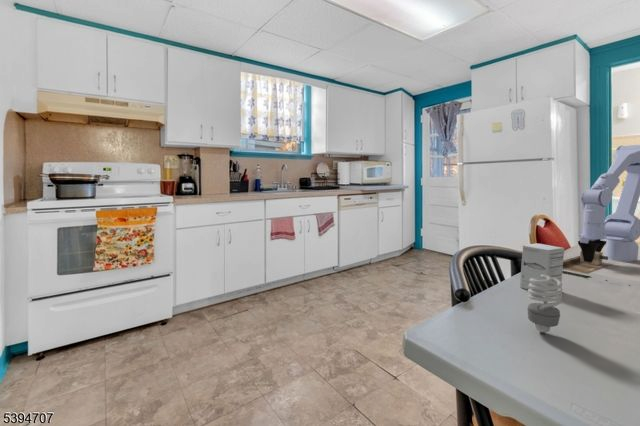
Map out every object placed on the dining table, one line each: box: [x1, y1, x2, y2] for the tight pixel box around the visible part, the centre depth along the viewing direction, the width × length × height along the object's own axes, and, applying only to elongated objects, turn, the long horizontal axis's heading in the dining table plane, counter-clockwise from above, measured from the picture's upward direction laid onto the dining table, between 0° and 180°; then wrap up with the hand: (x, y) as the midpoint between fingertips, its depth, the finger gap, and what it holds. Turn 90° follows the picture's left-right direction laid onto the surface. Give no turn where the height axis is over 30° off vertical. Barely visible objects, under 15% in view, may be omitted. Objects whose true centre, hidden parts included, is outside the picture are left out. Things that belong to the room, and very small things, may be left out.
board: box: [562, 255, 614, 279], centre depth 111 cm, size 22×9×3 cm, turn 121°
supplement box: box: [519, 242, 565, 292], centre depth 90 cm, size 7×7×13 cm
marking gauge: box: [579, 250, 609, 265], centre depth 113 cm, size 4×7×4 cm, turn 31°
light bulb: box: [527, 275, 563, 334], centre depth 64 cm, size 6×6×12 cm
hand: (590, 260), depth 114 cm, fingers open, 4 cm apart
